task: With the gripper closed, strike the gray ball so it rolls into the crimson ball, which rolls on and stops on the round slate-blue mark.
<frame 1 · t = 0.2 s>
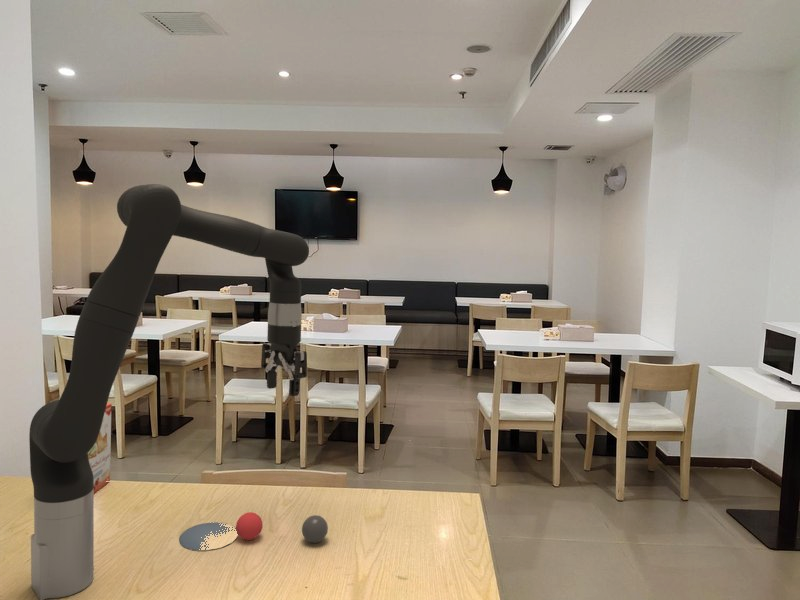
hand: (282, 391, 134), 29 cm above the table, tool pointing down, fingers open, 8 cm apart
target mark: (209, 536, 125), on the table
gray ball: (314, 528, 124), on the table
red ball: (249, 525, 124), on the table
cracker box: (85, 493, 143), on the table
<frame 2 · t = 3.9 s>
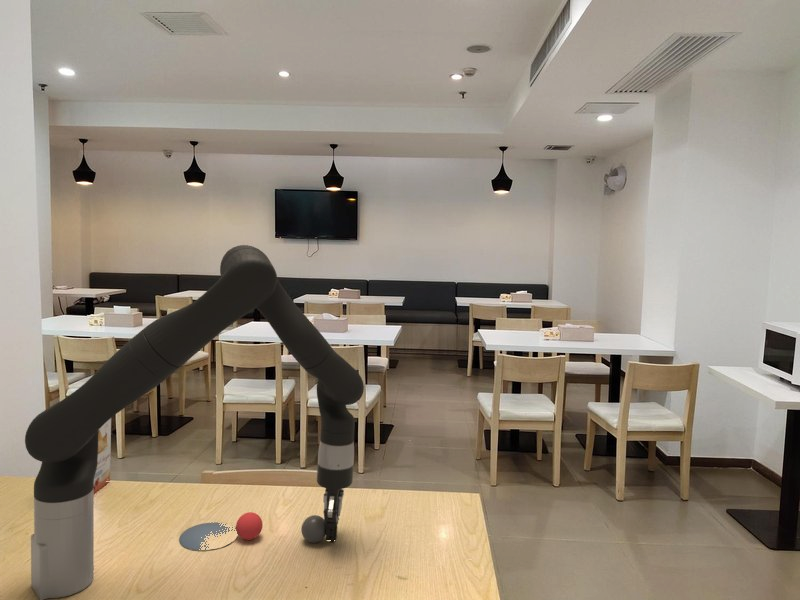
hand: (331, 540, 124), 1 cm above the table, tool pointing down, fingers closed
gray ball: (314, 528, 124), on the table, touching gripper
everything else where it was.
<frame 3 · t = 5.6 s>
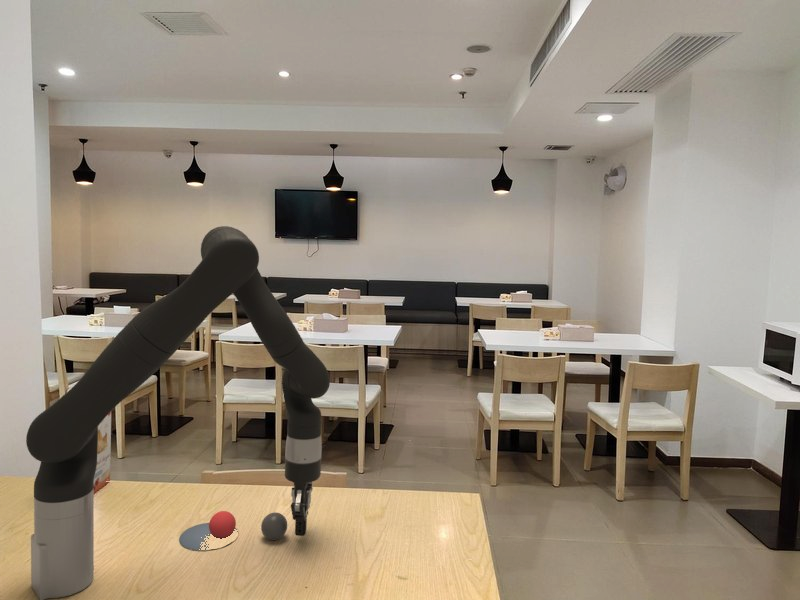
hand: (300, 533, 125), 2 cm above the table, tool pointing down, fingers closed
gray ball: (274, 526, 125), on the table
red ball: (222, 524, 124), on the table
everything else where it was.
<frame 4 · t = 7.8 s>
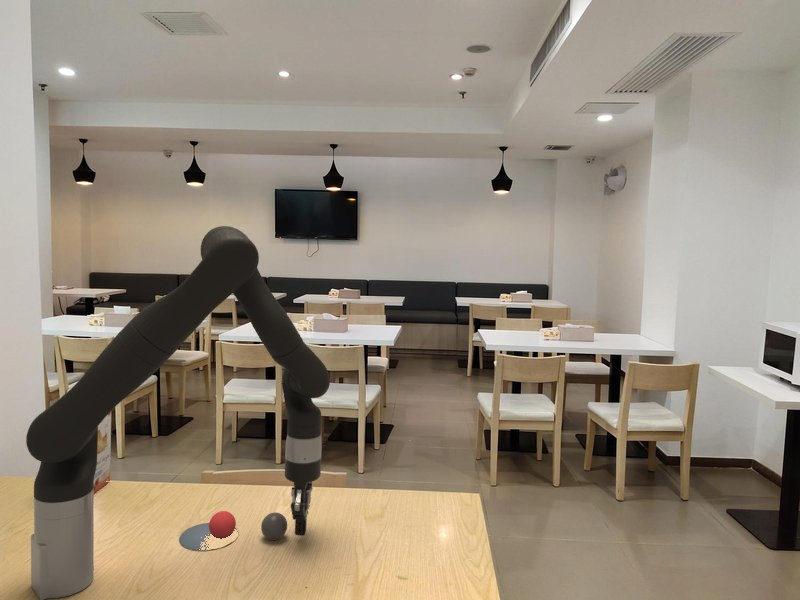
hand: (300, 533, 125), 2 cm above the table, tool pointing down, fingers closed
nothing on the table moved.
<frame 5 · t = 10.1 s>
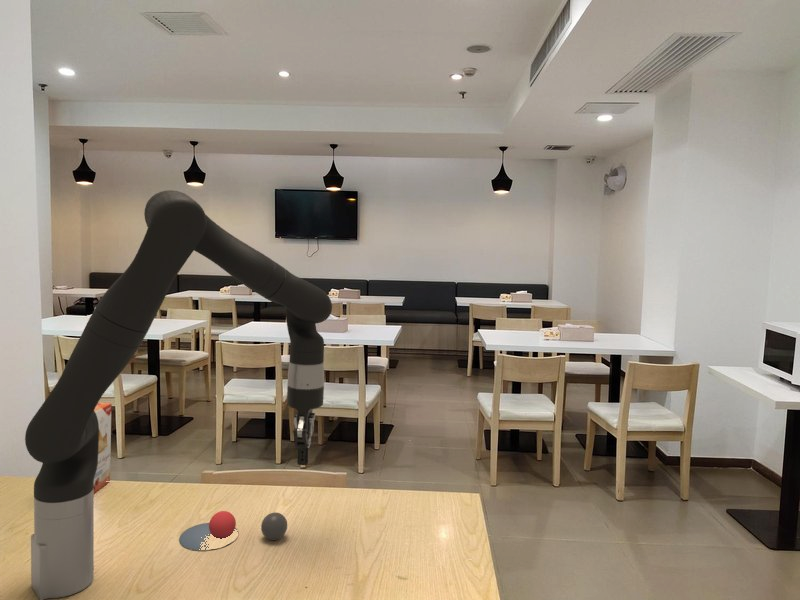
hand: (303, 463, 123), 17 cm above the table, tool pointing down, fingers closed
nothing on the table moved.
at the end: red ball 2.8 cm from the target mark (horizontally); red ball never touched the robot; gray ball first touched red ball at 4.3 s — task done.
